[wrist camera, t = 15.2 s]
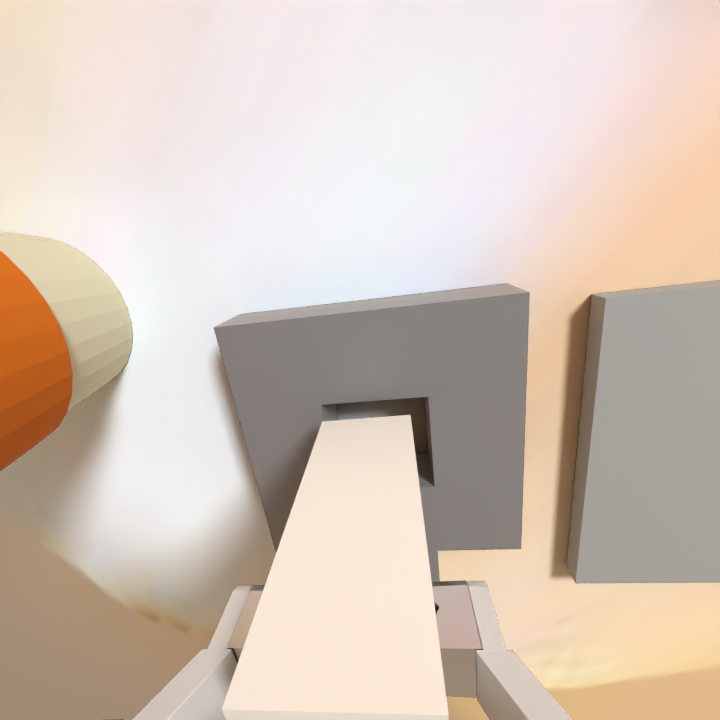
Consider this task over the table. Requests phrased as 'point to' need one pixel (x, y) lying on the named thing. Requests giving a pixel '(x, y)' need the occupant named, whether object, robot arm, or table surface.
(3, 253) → the reusable coffee cup
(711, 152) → the table surface
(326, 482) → the plug
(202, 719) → the robot arm
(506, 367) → the socket
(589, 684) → the table surface
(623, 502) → the pad
